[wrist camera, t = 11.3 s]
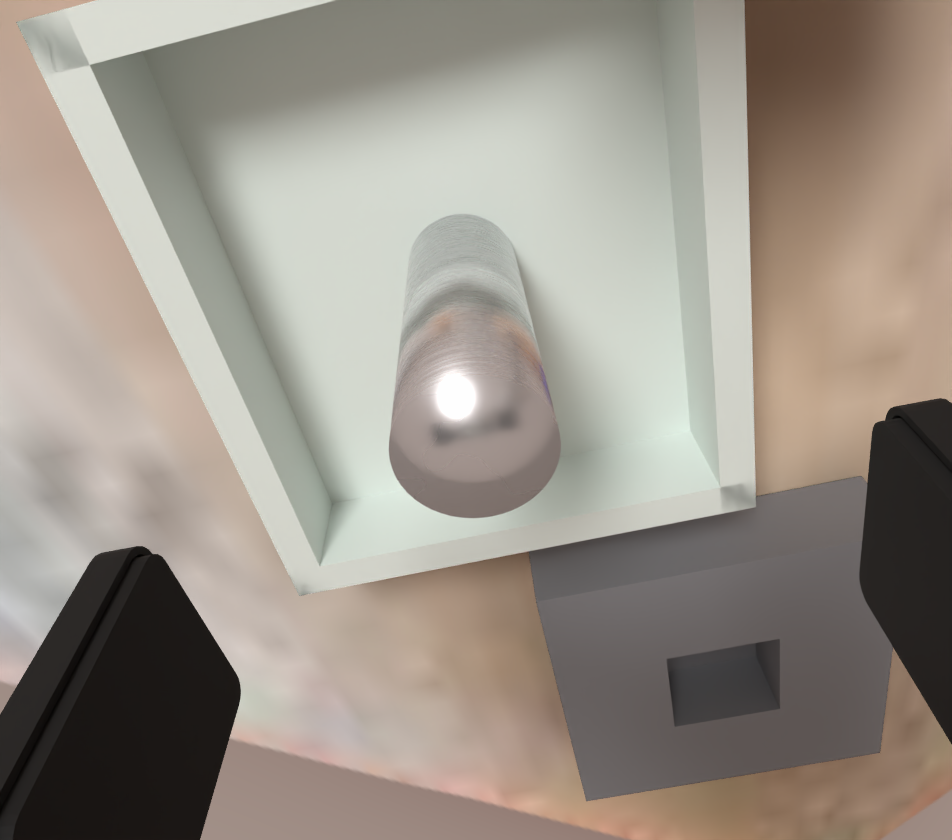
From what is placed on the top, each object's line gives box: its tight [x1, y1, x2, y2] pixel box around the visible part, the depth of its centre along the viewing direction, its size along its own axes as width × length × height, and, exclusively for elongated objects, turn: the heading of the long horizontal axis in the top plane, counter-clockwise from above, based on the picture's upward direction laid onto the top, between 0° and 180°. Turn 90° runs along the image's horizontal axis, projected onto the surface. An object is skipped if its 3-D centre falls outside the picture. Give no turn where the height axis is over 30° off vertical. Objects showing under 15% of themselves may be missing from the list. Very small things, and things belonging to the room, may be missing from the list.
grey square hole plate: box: [529, 476, 893, 801], centre depth 28 cm, size 12×12×3 cm
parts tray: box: [16, 0, 756, 596], centre depth 20 cm, size 14×16×4 cm
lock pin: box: [389, 214, 561, 518], centre depth 17 cm, size 3×3×9 cm
